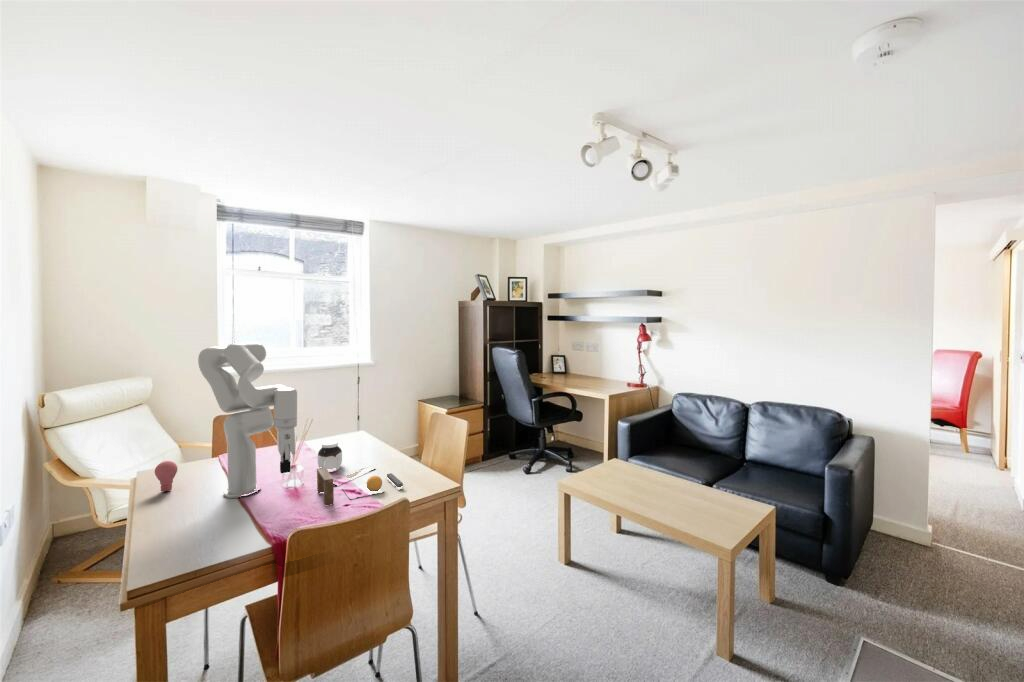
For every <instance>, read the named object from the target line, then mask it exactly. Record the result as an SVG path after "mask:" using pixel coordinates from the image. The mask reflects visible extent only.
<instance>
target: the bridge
mask: <svg viewBox="0 0 1024 682" xmlns="http://www.w3.org/2000/svg"><path fill="white" fill-rule="evenodd" d="M333 481H334V477H333V476H332V474H331V473H329V472H328V470H327V469H326V468H325V467H324V468H320V467H319V468H316V484H317V486H316V491H318V493H320V492H324V494H323V505H324V504H325V505H329V506H331V505H330V504H333V503H334V502H335V501H334V495H335V494H334V493H335V492H334V490H335V489H334V485H333ZM318 493H317V494H318ZM334 504H335V503H334ZM325 505H324V506H325Z"/></svg>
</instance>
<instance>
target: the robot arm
mask: <svg viewBox="0 0 1024 682" xmlns="http://www.w3.org/2000/svg"><path fill="white" fill-rule="evenodd" d="M266 356H267V351H266V348H265V346H264V345H263V344H262V343H260V342H256V341H249V342H248V341H247V342H245V341H244V342H234V343H231V344H229V345H219V346H218V345H217V346H216V345H215V346H211V347H210V346H209V347H206V348H204V349H202V350H201V351H200V352H199V354H198V359H197V363H198V368H199V371H200V372H201V374H202V376H203V377H204V378H205V380H206V381H207V383H208V384H209V386H210V388H211V390H212V393H213V395H214V397H215V400H216V402H217V405H218V407H219V408H220V410H221V411H222V412H223V413H225V414H229V415H228V416H227V417H226V418H225V419H224V421H223V424H222V425H223V432H224V435H225V440H226V453H227V484H228V486H227V489H225V490H224V491H223V497H225V498H229V499H238V498H239V496H241V495H244V494H249V493H252V492H254V491H257V490H258V489H256V487H257V486H256V484H257V452H256V451H257V447H256V444H255V442H254V441H253V440H252V439H251V437H250V436H252V435H257V434H262V433H264V432H269V430H271V429H272V428H274V429H276V430H277V435H276V437H277V440H276V442H277V443H276V444H277V451H278V454H279V455H280V461H279V462H280V463H279V472H280V474H285V473H291V454H292V455H293V456H294V455H296V432H295V428H297V426H298V390H297V389H296V388H293V387H287V386H286V385H285V384H284V385H283V384H274V385H273V384H272V385H265V386H258V387H256V386H254V385H253V384H252V382H255V381H256V380H258V379H259V378H260V377H261V376H262V375H263V373H264V369H265V367H264V365H263V364H262V363H263V361H264V360H265V359H266ZM229 367H232V369H233V370H234V371H235V372H236V373H237V375H238V376H239V378H238V380H236V379H235V377H234V376H233V375H232V374H231V373H230V372H228V370H225V369H223V368H229ZM236 381H238V382H236ZM270 407H273V413H272V410H271V408H270ZM231 413H232V414H231ZM254 489H256V490H254Z"/></svg>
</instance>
